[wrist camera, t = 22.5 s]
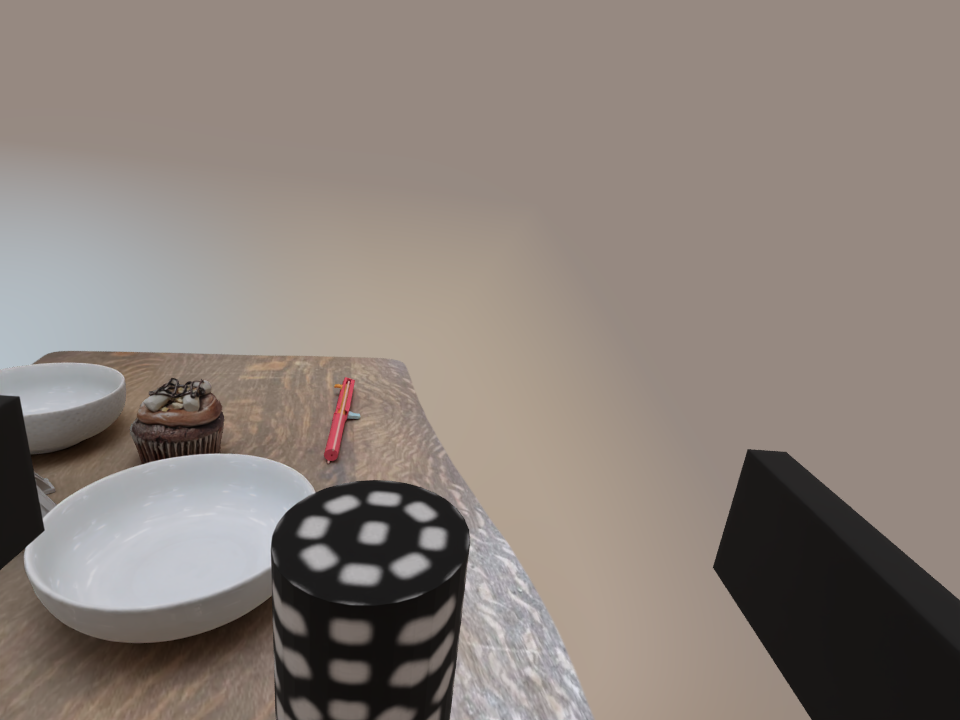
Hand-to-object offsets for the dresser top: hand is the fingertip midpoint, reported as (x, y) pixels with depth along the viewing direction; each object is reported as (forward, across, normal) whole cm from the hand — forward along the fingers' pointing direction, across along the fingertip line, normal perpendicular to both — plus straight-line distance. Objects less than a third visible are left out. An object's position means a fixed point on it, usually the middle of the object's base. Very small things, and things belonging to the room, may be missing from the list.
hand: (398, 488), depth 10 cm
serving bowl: (+30, -19, -30) cm, 47 cm away
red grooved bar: (+63, -12, -30) cm, 71 cm away
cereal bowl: (+52, -46, -30) cm, 76 cm away
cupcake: (+50, -29, -30) cm, 65 cm away
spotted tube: (+11, -2, -30) cm, 32 cm away
